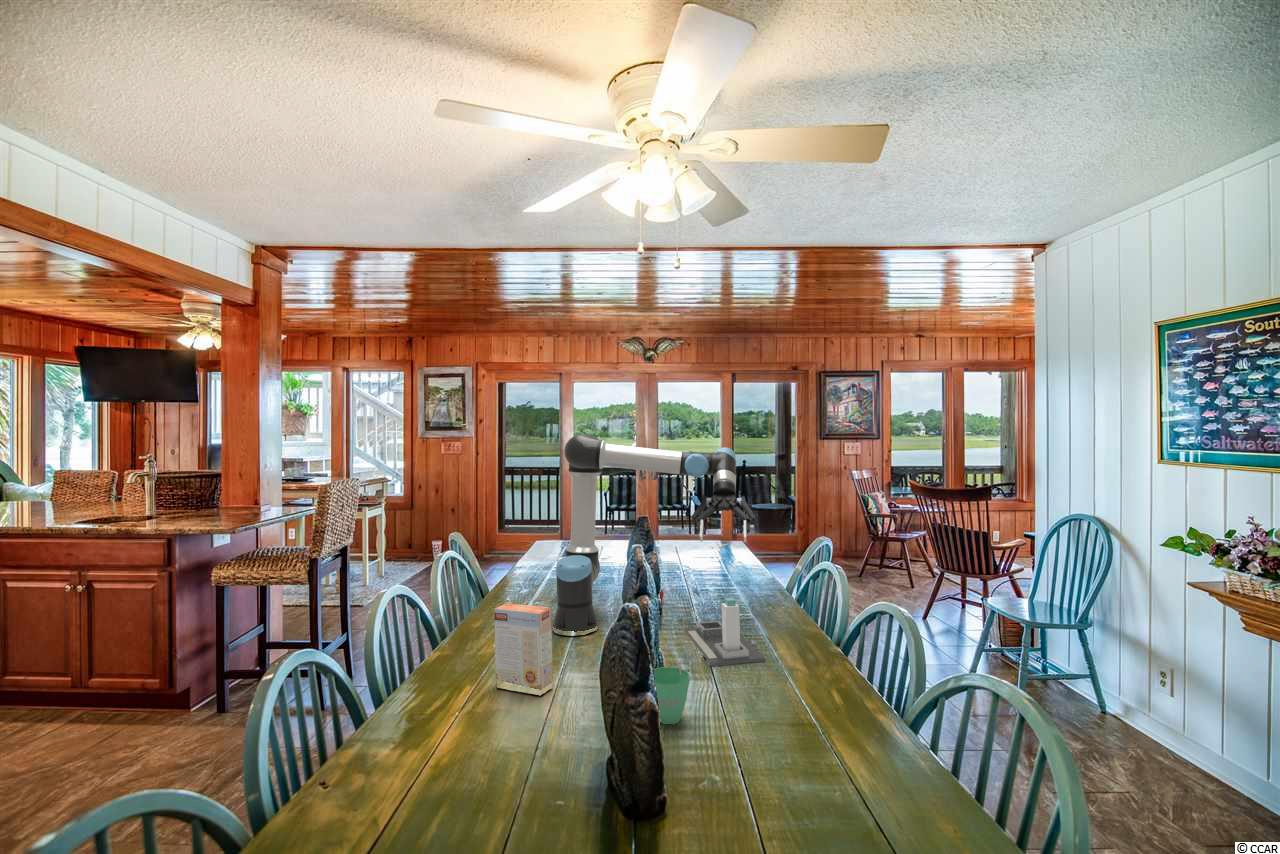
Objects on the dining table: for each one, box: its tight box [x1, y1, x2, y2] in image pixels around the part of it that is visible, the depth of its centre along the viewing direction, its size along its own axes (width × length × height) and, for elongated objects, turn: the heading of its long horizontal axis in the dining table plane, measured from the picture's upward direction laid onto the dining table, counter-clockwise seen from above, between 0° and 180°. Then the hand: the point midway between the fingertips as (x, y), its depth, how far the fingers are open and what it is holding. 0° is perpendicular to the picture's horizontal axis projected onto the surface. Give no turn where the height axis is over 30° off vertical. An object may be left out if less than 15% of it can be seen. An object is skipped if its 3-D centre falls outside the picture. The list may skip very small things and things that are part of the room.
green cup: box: [653, 666, 691, 725], centre depth 138 cm, size 15×10×10 cm
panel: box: [683, 620, 766, 667], centre depth 184 cm, size 16×30×3 cm, turn 10°
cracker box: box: [493, 602, 554, 690], centre depth 157 cm, size 14×6×21 cm, turn 65°
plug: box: [721, 597, 741, 651], centre depth 175 cm, size 4×4×16 cm
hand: (723, 539), depth 191 cm, fingers open, 13 cm apart
